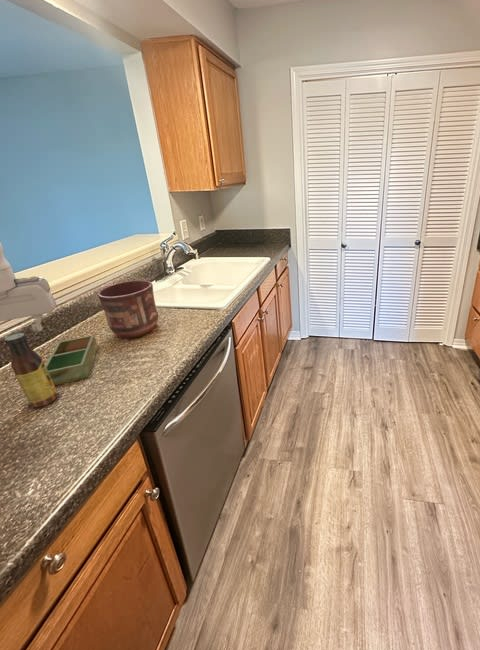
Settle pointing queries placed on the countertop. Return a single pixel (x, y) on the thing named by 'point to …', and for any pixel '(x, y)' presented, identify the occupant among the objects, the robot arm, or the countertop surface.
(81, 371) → the green shallow open box
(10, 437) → the countertop surface
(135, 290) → the pottery
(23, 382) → the sauce bottle
